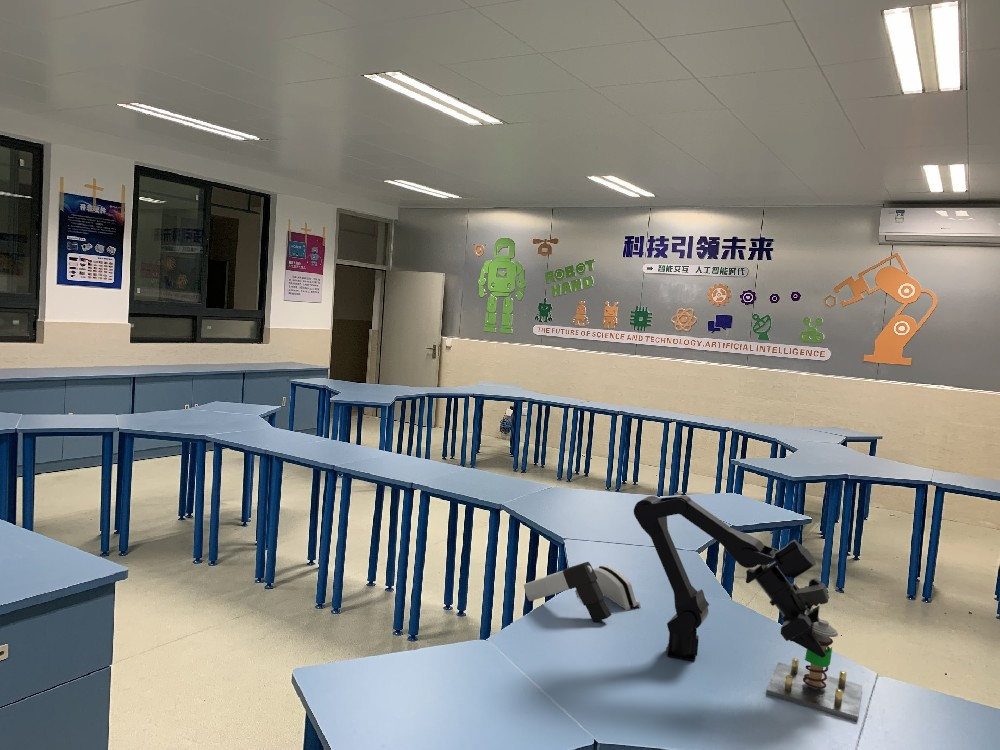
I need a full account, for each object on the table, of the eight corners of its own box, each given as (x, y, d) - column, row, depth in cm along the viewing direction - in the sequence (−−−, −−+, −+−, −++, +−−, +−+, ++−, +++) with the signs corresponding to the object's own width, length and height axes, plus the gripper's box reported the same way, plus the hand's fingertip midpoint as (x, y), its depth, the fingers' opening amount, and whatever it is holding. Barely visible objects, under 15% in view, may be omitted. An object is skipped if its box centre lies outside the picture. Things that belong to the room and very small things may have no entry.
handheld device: (606, 619, 190) (584, 563, 193) (539, 637, 201) (520, 584, 204) (612, 614, 193) (591, 559, 196) (546, 632, 204) (528, 580, 207)
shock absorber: (821, 681, 165) (831, 617, 164) (834, 695, 159) (844, 629, 158) (794, 677, 165) (803, 614, 164) (805, 692, 159) (815, 626, 158)
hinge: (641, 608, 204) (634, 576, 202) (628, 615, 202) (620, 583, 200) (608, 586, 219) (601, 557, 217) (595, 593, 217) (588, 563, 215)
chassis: (766, 694, 159) (767, 676, 159) (777, 667, 173) (779, 650, 173) (857, 721, 151) (859, 702, 150) (861, 690, 165) (863, 672, 164)
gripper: (802, 581, 154) (854, 647, 149) (813, 559, 170) (860, 617, 165) (760, 608, 158) (809, 672, 154) (774, 584, 174) (819, 641, 170)
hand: (826, 649), depth 161 cm, fingers open, 8 cm apart
